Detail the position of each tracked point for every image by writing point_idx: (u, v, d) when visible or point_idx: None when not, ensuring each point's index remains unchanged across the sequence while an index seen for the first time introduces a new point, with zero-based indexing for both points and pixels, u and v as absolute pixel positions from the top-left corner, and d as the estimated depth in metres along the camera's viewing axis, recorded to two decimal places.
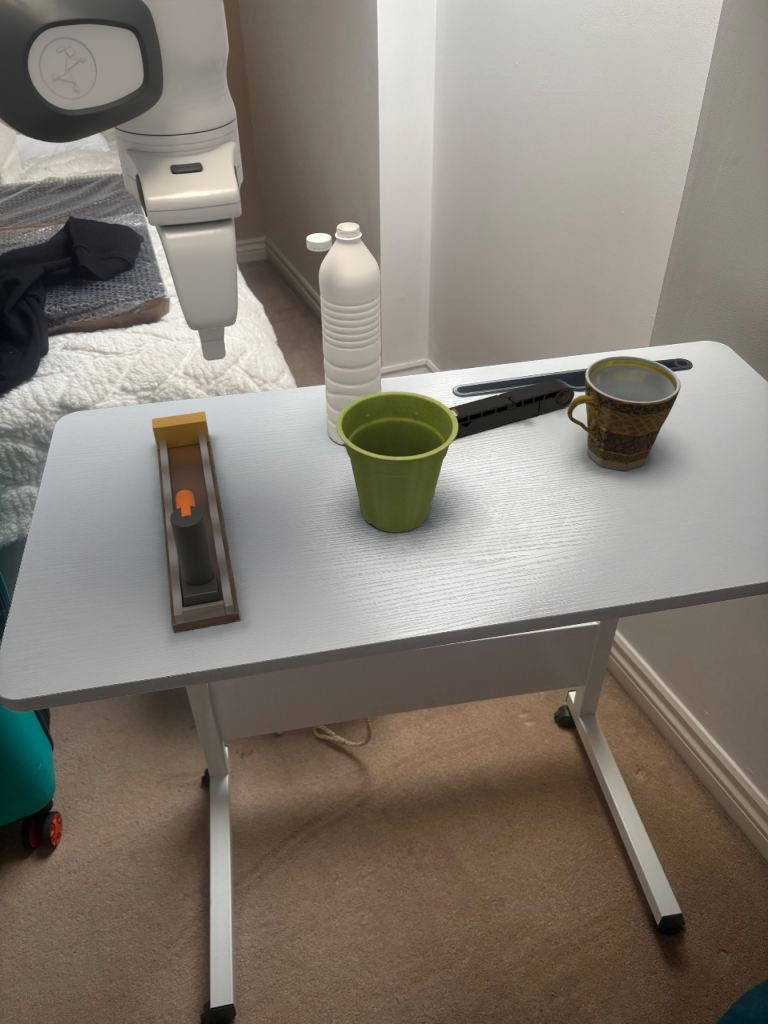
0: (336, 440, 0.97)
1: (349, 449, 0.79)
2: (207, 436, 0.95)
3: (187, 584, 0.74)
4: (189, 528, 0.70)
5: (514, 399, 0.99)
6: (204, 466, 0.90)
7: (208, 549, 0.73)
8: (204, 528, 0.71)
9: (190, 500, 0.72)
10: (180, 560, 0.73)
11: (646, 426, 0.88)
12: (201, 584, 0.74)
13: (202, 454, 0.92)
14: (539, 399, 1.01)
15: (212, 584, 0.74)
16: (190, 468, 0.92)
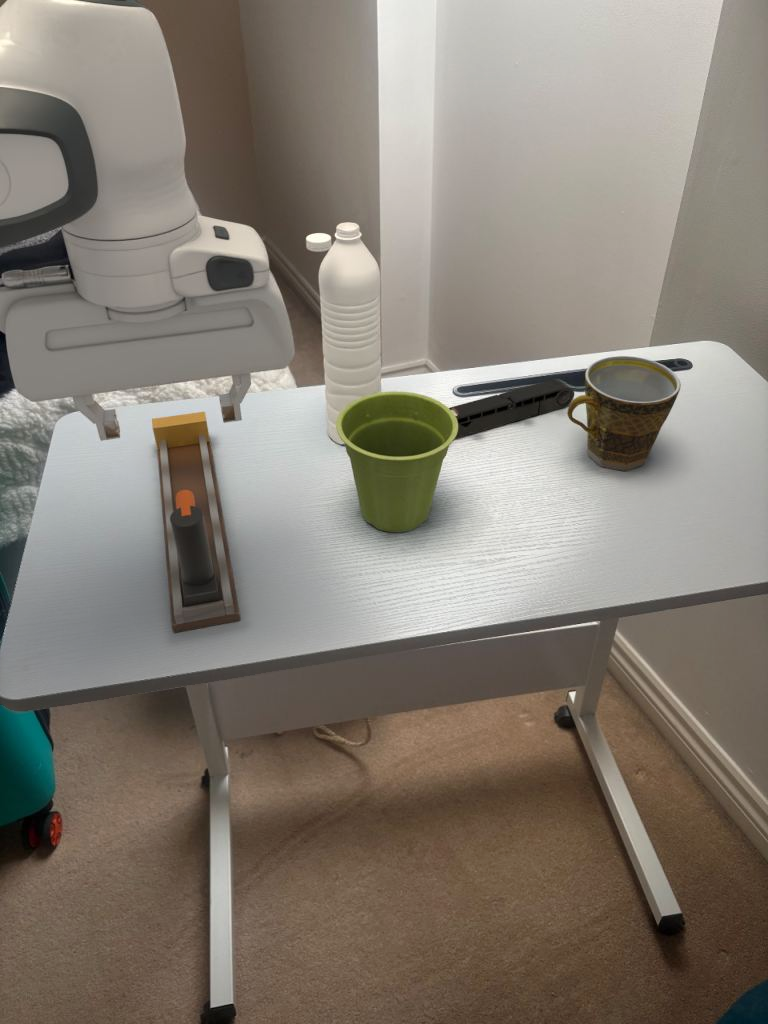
0: (336, 440, 0.97)
1: (349, 449, 0.79)
2: (207, 436, 0.95)
3: (187, 584, 0.74)
4: (189, 528, 0.70)
5: (514, 399, 0.99)
6: (204, 466, 0.90)
7: (208, 549, 0.73)
8: (204, 528, 0.71)
9: (190, 500, 0.72)
10: (180, 560, 0.73)
11: (646, 426, 0.88)
12: (201, 584, 0.74)
13: (202, 454, 0.92)
14: (539, 399, 1.01)
15: (212, 584, 0.74)
16: (190, 468, 0.92)
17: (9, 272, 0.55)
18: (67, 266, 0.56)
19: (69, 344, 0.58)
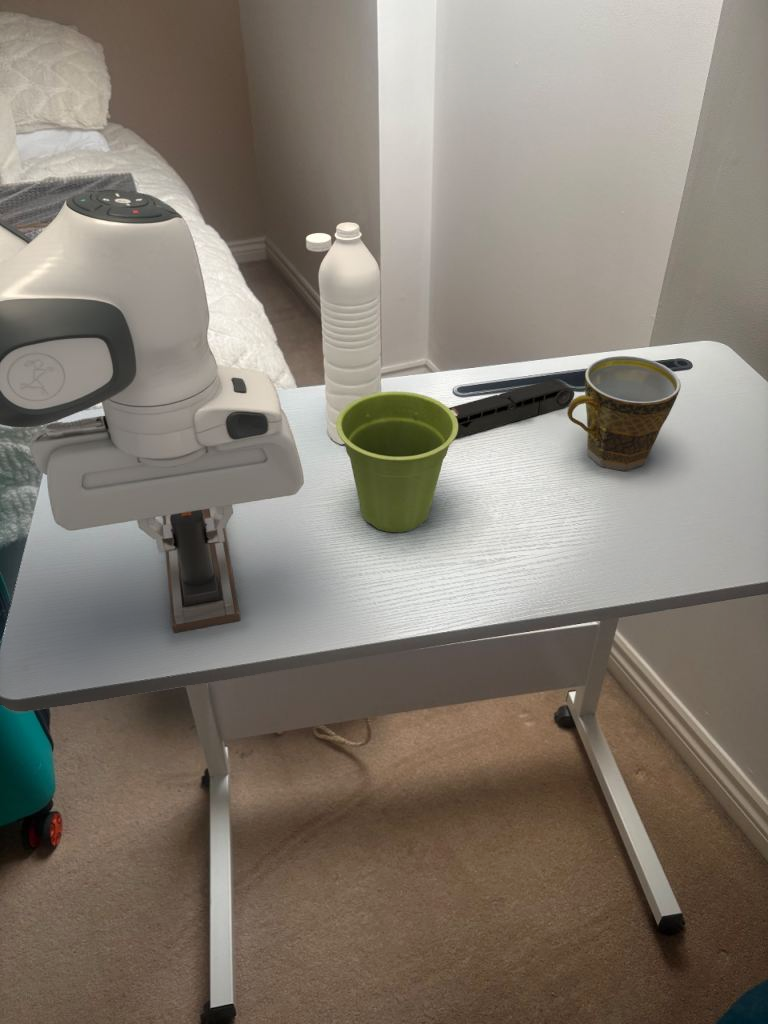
0: (336, 440, 0.97)
1: (349, 449, 0.79)
2: None
3: (187, 584, 0.74)
4: (189, 528, 0.70)
5: (514, 399, 0.99)
6: None
7: (208, 549, 0.73)
8: (204, 528, 0.71)
9: None
10: (180, 560, 0.73)
11: (646, 426, 0.88)
12: (201, 584, 0.74)
13: None
14: (539, 399, 1.01)
15: (212, 584, 0.74)
16: None
17: (51, 424, 0.62)
18: (102, 418, 0.63)
19: (103, 483, 0.65)
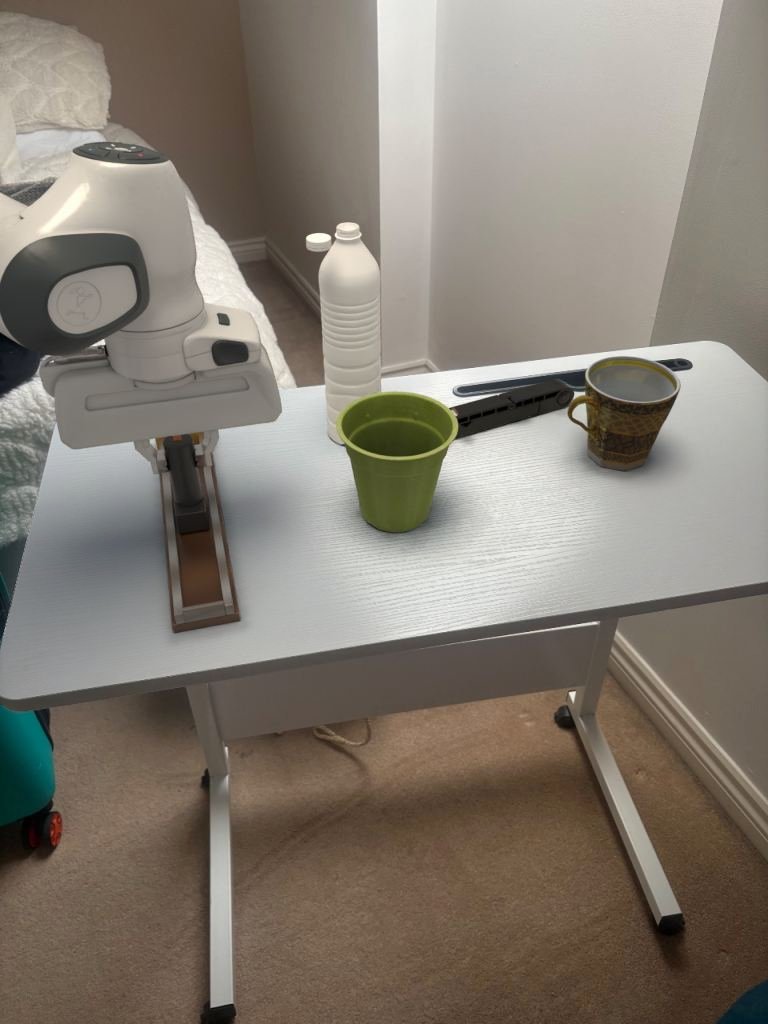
0: (336, 440, 0.97)
1: (349, 449, 0.79)
2: None
3: (178, 505, 0.83)
4: (180, 451, 0.78)
5: (514, 399, 0.99)
6: None
7: (197, 472, 0.81)
8: (193, 452, 0.80)
9: None
10: (172, 482, 0.81)
11: (646, 426, 0.88)
12: (191, 505, 0.83)
13: None
14: (539, 399, 1.01)
15: (201, 505, 0.83)
16: None
17: None
18: (103, 346, 0.71)
19: (104, 405, 0.73)
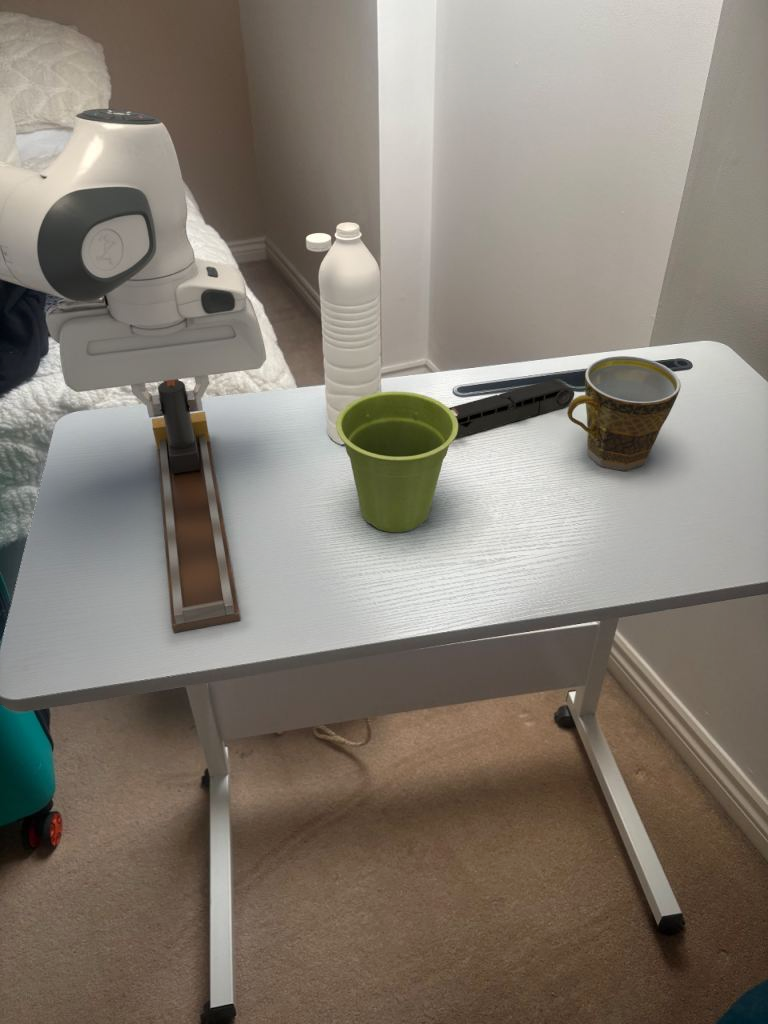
0: (336, 440, 0.97)
1: (349, 449, 0.79)
2: (207, 436, 0.95)
3: (172, 447, 0.90)
4: (173, 395, 0.86)
5: (514, 399, 0.99)
6: (204, 466, 0.90)
7: (189, 417, 0.89)
8: (186, 397, 0.88)
9: None
10: (166, 425, 0.89)
11: (646, 426, 0.88)
12: (183, 447, 0.90)
13: (202, 454, 0.92)
14: (539, 399, 1.01)
15: (193, 447, 0.90)
16: None
17: (63, 300, 0.78)
18: (103, 296, 0.79)
19: (104, 350, 0.81)
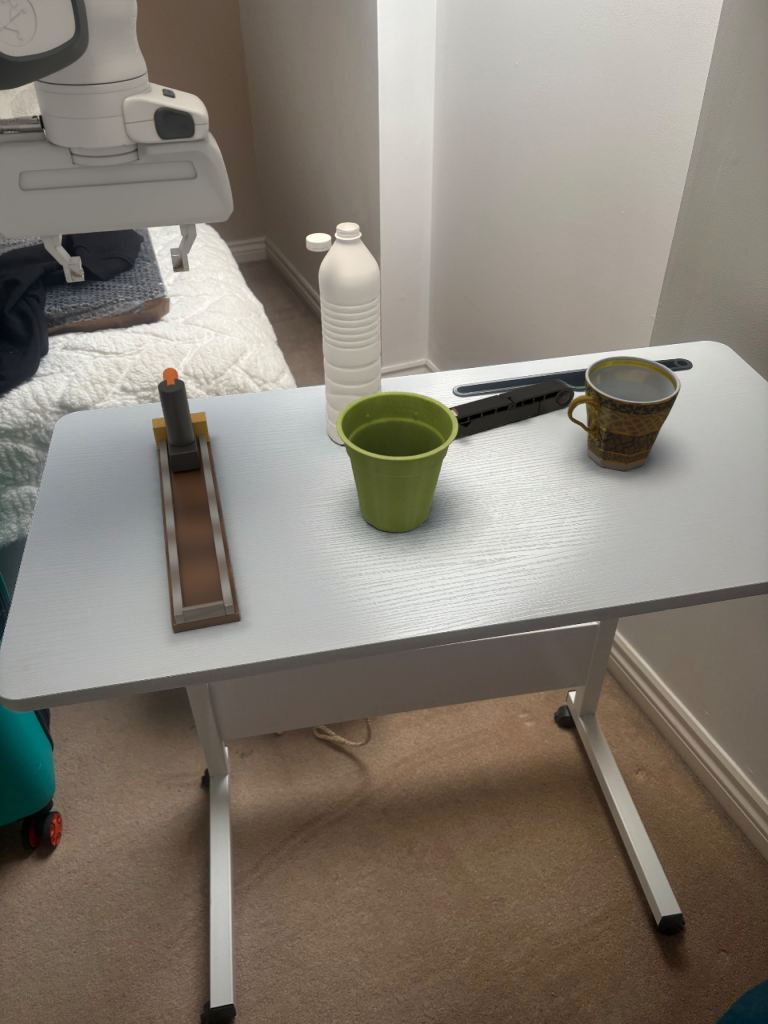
0: (336, 440, 0.97)
1: (349, 449, 0.79)
2: (207, 436, 0.95)
3: (172, 446, 0.91)
4: (173, 394, 0.86)
5: (514, 399, 0.99)
6: (204, 466, 0.90)
7: (189, 415, 0.89)
8: (185, 396, 0.88)
9: (174, 375, 0.89)
10: (166, 424, 0.89)
11: (646, 426, 0.88)
12: (183, 446, 0.91)
13: (202, 454, 0.92)
14: (539, 399, 1.01)
15: (193, 445, 0.91)
16: None
17: None
18: (38, 116, 0.67)
19: (40, 185, 0.69)
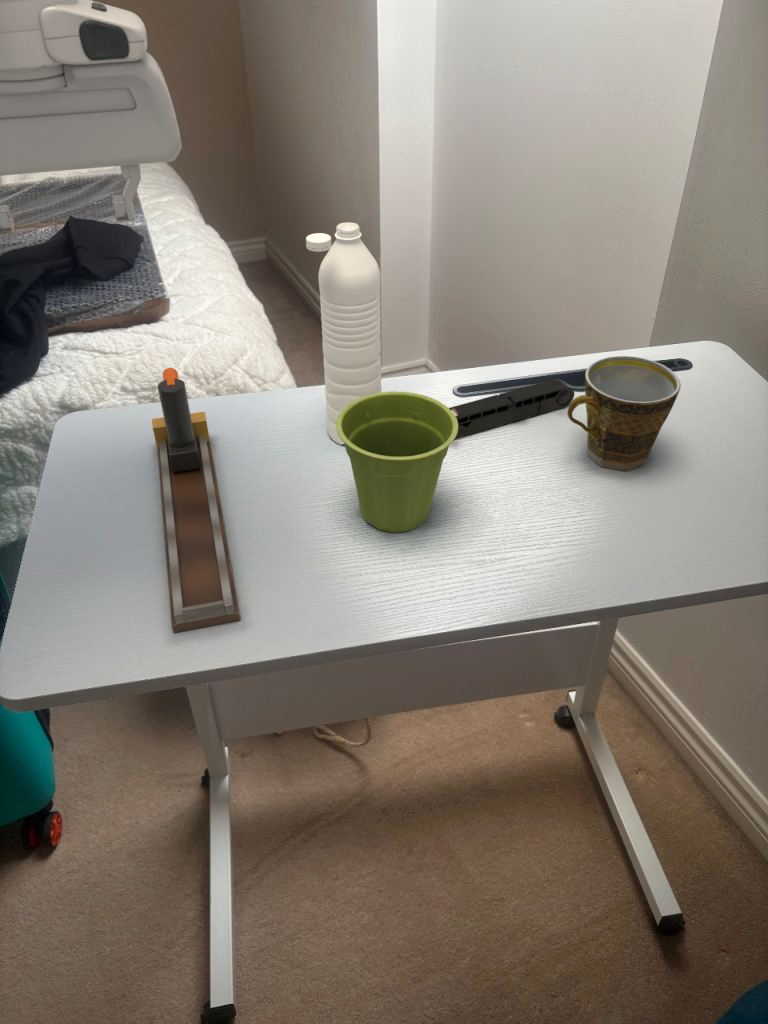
0: (336, 440, 0.97)
1: (349, 449, 0.79)
2: (207, 436, 0.95)
3: (172, 446, 0.91)
4: (173, 394, 0.86)
5: (514, 399, 0.99)
6: (204, 466, 0.90)
7: (189, 415, 0.89)
8: (185, 396, 0.88)
9: (174, 375, 0.89)
10: (166, 424, 0.89)
11: (646, 426, 0.88)
12: (183, 446, 0.91)
13: (202, 454, 0.92)
14: (539, 399, 1.01)
15: (193, 445, 0.91)
16: None
17: None
18: None
19: None
